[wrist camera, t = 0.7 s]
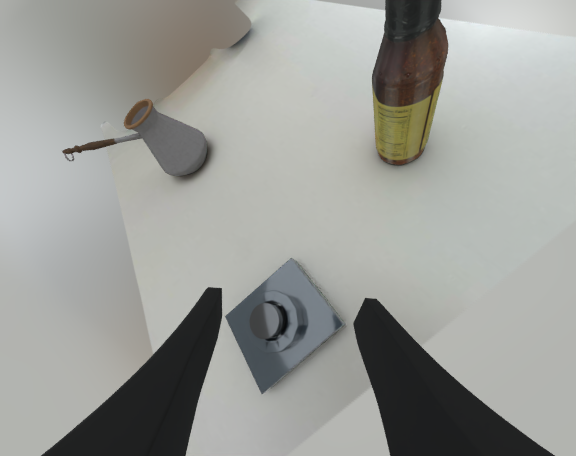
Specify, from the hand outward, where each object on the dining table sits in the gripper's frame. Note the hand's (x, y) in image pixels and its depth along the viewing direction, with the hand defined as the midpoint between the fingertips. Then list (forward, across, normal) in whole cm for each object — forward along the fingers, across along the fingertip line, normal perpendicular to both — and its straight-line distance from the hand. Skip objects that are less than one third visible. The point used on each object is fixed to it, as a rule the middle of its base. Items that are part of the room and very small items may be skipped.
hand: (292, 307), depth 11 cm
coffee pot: (+42, +23, +8) cm, 49 cm away
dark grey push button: (+9, 0, +13) cm, 15 cm away
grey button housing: (+11, -2, +15) cm, 19 cm away
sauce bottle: (+24, -16, -5) cm, 29 cm away
